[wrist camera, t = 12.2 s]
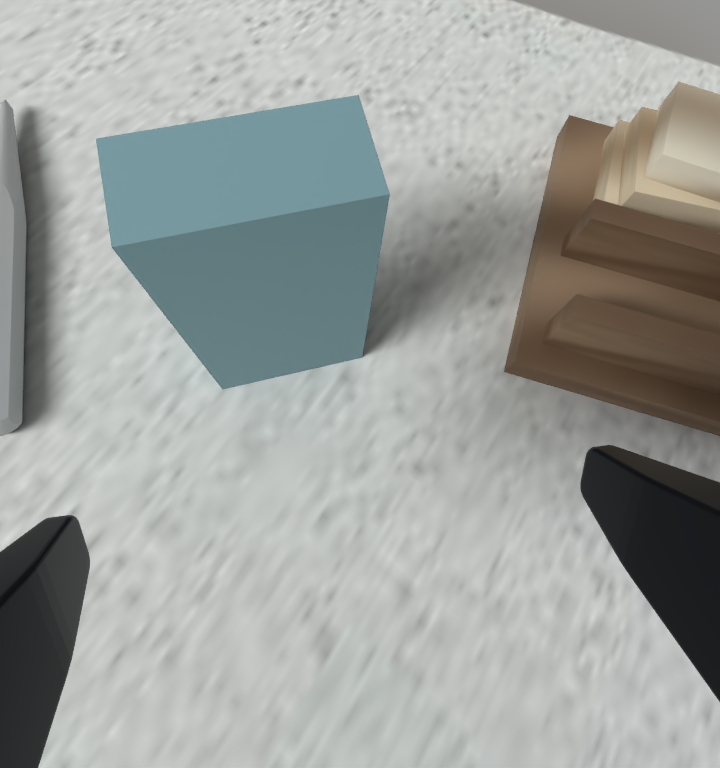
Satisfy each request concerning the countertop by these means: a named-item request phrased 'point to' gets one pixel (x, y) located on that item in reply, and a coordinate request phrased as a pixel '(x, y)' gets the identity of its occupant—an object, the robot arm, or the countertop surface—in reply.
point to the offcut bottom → (611, 165)
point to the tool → (11, 275)
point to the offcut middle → (655, 194)
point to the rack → (618, 297)
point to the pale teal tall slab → (254, 233)
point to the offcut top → (687, 142)
